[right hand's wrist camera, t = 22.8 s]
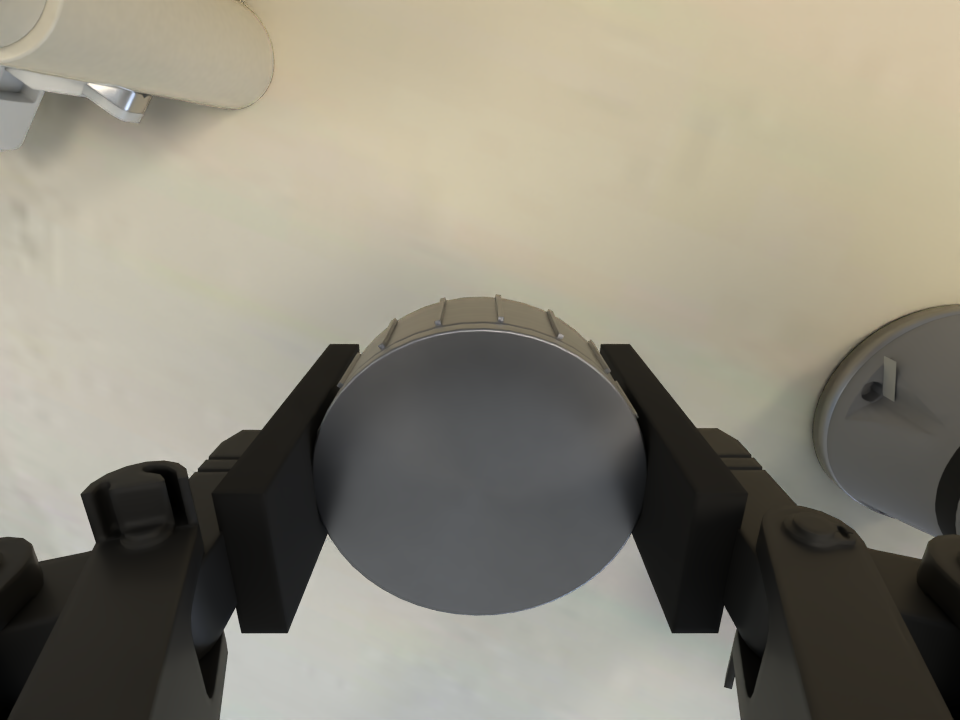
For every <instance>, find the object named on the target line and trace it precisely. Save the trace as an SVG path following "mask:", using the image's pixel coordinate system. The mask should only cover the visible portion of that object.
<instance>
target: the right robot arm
mask: <svg viewBox="0 0 960 720" xmlns="http://www.w3.org/2000/svg"><path fill="white" fill-rule="evenodd" d="M357 353H360V352H359V344H330V345H329V346H328V347H327V348H326V350H325V351H324V352H323V353H322V355H321V356H320V357H319V359H318V360H317V361H316V362H315V364H314V365H313V366H312V367H311V369H310V370H309V371H308V372H307V374H306V375H305V376H304V377H303V379H302V380H301V381H300V382H299V384H298V385H297V386H296V387H295V389H294V390H293V391H292V392H291V394H290V395H289V396H288V398H287V399H286V400H285V401H284V403H283V404H282V405H281V406H280V408H279V409H278V410H277V411H276V413H275V414H274V415H273V416H272V418H271V419H270V420H269V421H268V423H267V424H266V425H265V426H264V428H263V429H262V430H242V431H240V432H239V433H237V434H235V435H233V436H232V437H230V438H228V439H227V440H225V441H223V442H222V443H221V444H220V445H219V446H218V447H217V448H216V449H215V451H214V452H213V453H212V454H211V455H210V456H209V460H206V461H205V462H204V463H203V464H202V465H201V466H200V467H199V468H198V472H195V473H194V474H193V475H192V476H191V477H190V478H189V479H188V474H187V470H186V468H185V467H183V466H182V465H180V464H179V463H175V462H170V461H150V462H143V463H139V464H134V465H130V466H126V467H123V468H121V469H118V470H116V471H113V472H111V473H108V474H106V475H104V476H103V477H101V478H99V479H98V480H96V481H94V482H93V483H91V484H90V485H89V486H88V487H87V488H86V489H85V490H84V491H83V492H82V493H81V498H82V501H83V504H84V507H85V510H86V513H87V516H88V519H89V522H90V526H91V529H92V532H93V535H94V538H95V541H96V544H95V546H94V548H93V550H92V551H88V552H84V553H79V554H75V555H70V556H65V557H60V558H55V559H50V560H45V561H40V562H38V559H37V557H36V554H35V551H34V549H33V546H32V544H31V543H29V542H28V541H27V540H25V539H24V538H15V537H3V538H0V720H219V719H220V711H221V703H222V695H223V687H224V679H225V671H226V664H227V656H228V650H227V643H226V638H225V634H224V628H225V626H226V624H227V623H228V621H229V619H230V617H231V615H232V613H233V611H234V610H235V608H236V610H237V615H238V619H239V624H240V629H241V633H288V631H289V628H290V626H291V623H292V621H293V619H294V616H295V614H296V611H297V609H298V606H299V604H300V601H301V599H302V596H303V594H304V591H305V589H306V586H307V584H308V581H309V579H310V576H311V574H312V571H313V569H314V566H315V564H316V561H317V559H318V556H319V554H320V551H321V549H322V546H323V544H324V541H325V539H326V536H327V534H328V533H327V531H326V529H325V527H324V525H323V523H322V521H321V518H320V515H319V512H318V509H317V504H316V497H315V490H314V482H313V474H312V457H313V450H314V444H315V441H316V437H317V430H318V428H319V427H320V425H321V423H322V421H323V419H324V417H325V414H326V412H327V410H328V408H329V407H330V405H331V403H332V402H333V400H334V398H335V397H336V395H337V393H338V391H339V390H340V388H339V387H337V385H338V383H339V382H340V380H341V379H342V377H343V375H344V374H345V372H346V370H347V369H348V367H349V366H350V364H351V362H352V361H353V359H354V358H355V356H356V354H357ZM600 354H601V356H602V357H603V359H604V361H605V362H606V364H607V365H608V367H609V369H610V370H611V372H610V374H611V376H612V378H613V379H614V381H617V382H618V383H619V385H620V387H621V388H622V390H623V391H624V393H625V395H626V396H627V398H628V400H629V401H630V403H631V405H632V406H633V408H634V409H635V411H636V413H637V415H638V418H637V422H638V424H639V427H640V429H641V432H642V435H643V439H644V443H645V448H646V452H647V464H648V469H647V478H646V486H645V494H644V501H643V507H642V511H641V514H640V516H639V518H638V521H637V523H636V526H635V528H634V530H633V532H632V535H633V537H634V540H635V542H636V545H637V547H638V550H639V552H640V555H641V557H642V560H643V562H644V565H645V567H646V570H647V572H648V575H649V577H650V580H651V582H652V585H653V587H654V590H655V592H656V594H657V597H658V599H659V602H660V604H661V607H662V609H663V612H664V614H665V617H666V619H667V622H668V624H669V627H670V629H671V632H672V633H718V632H719V627H720V622H721V618H722V613H723V608H724V606H725V607H726V609H727V611H728V613H729V615H730V617H731V619H732V620H733V622H734V624H735V626H736V628H737V630H736V634H735V638H734V643H733V647H732V651H731V655H730V660H729V664H728V668H727V673H726V678H725V685H724V687H726V688H729V689H732V686H733V682H734V677H735V678H736V686H737V694H738V702H739V710H740V717H741V720H960V305H948V306H940V307H935V308H930V309H926V310H922V311H919V312H916V313H913V314H910V315H908V316H905V317H902V318H900V319H898V320H896V321H894V322H892V323H890V324H888V325H887V326H885V327H883V328H881V329H880V330H878V331H877V332H875V333H874V334H872V335H871V336H869V337H868V338H867V339H866V340H864V341H863V342H862V343H861V344H859V345H858V346H857V347H856V348H855V349H854V350H853V351H852V352H851V353H850V354H849V355H848V356H847V357H846V358H845V359H844V360H843V361H842V363H841V364H840V365H839V366H838V368H837V369H836V370H835V371H834V373H833V374H832V376H831V378H830V379H829V381H828V382H827V384H826V386H825V388H824V390H823V392H822V394H821V397H820V399H819V402H818V405H817V408H816V412H815V416H814V423H813V441H814V448H815V451H816V455H817V458H818V460H819V462H820V464H821V466H822V468H823V470H824V471H825V472H826V474H827V475H828V476H829V477H830V478H831V479H832V480H833V481H834V482H835V483H836V484H837V485H838V486H839V487H840V488H841V489H842V490H843V491H844V492H845V493H846V494H848V495H849V496H850V497H851V498H853V499H854V500H855V501H857V502H858V503H860V504H862V505H864V506H866V507H867V508H869V509H871V510H873V511H875V512H878V513H880V514H883V515H886V516H889V517H891V518H895V519H898V520H900V521H902V522H904V523H906V524H908V525H910V526H912V527H915V528H917V529H919V530H921V531H923V532H926V533H928V534H930V535H932V536H935V538H933V539H932V540H930V541H929V542H928V545H927V547H926V550H925V553H924V555H923V558H922V559H917V558H912V557H907V556H902V555H898V554H893V553H888V552H883V551H878V550H873V549H869V548H867V547H866V545H865V543H864V541H863V540H862V539H861V538H860V536H859V535H858V534H857V533H856V532H855V530H853V529H852V528H850V527H849V526H848V525H846V524H845V523H843V522H842V521H841V520H839V519H837V518H835V517H832V516H830V515H828V514H826V513H824V512H821V511H818V510H814V509H810V508H807V507H803V506H797V505H796V504H795V503H794V502H793V500H792V499H791V498H790V497H789V496H788V495H787V494H786V493H785V492H784V491H783V489H782V488H781V487H780V486H779V485H778V484H777V483H776V482H775V481H774V480H773V478H772V477H771V476H770V475H769V474H768V473H767V472H766V471H765V470H762V466H761V465H760V464H759V463H758V462H757V461H756V460H755V459H754V458H751V454H750V453H749V452H748V451H747V450H746V449H745V448H744V446H743V445H742V444H741V443H740V442H739V441H738V440H736V439H735V438H733V437H731V436H730V435H728V434H726V433H724V432H723V431H721V430H719V429H718V428H696V427H695V426H694V424H693V423H692V422H691V421H690V419H689V418H688V417H687V416H686V414H685V413H684V412H683V411H682V409H681V408H680V407H679V406H678V404H677V403H676V402H675V400H674V399H673V398H672V397H671V395H670V394H669V393H668V392H667V390H666V389H665V388H664V387H663V385H662V384H661V383H660V382H659V380H658V379H657V378H656V377H655V375H654V374H653V373H652V372H651V370H650V369H649V368H648V366H647V365H646V364H645V363H644V361H643V360H642V359H641V358H640V356H639V355H638V354H637V353H636V351H635V350H634V349H633V348H632V346H631V345H630V344H601V348H600Z"/></svg>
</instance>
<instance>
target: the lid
mask: <svg viewBox="0 0 960 720" xmlns="http://www.w3.org/2000/svg"><path fill="white" fill-rule="evenodd" d="M610 372H611V370H610V369H609V367H608V365H607V364H606V362H605V361H604V359H603V357H602V356H601V354H600V352H599V351H598V349H597V347H596V346H595V344H594V343H593V342H592V340H590V341H588V342H587V341H586V340H585V339H584V338H583V337H582V336H581V335H580V334H579V333H578V332H577V331H576V330H575V329H573V328H572V327H570V326H569V325H568V324H566V323H565V322H563V321H562V320H560V319H559V318H557V317H555V315H554V313H553V311H551V310H549V309H548V311H547V312H545V311H544V310H541V309H539V308H536V307H533V306H530V305H528V304H525V303H521V302H517V301H512V300H508V299H502V298H501V295H496V296H495V298H491V297H466V298H458V299H452V300H446V298H441V299H440V302H439V303H435V304H432V305H429V306H425V307H423V308H421V309H419V310H416V311H414V312H412V313H410V314H408V315H406V316H404V317H403V318H401V319H399V320H398V321H397V319H396V318H394V319H393V320H391V322H390V324H389V326H388V328H386V329H385V330H384V331H383V332H382V333H380V334H379V335H378V336H377V337H376V338H375V339H374V340H373V341H372V342H371V343H370V345H369V346H368V347H367V348H366V349H365V350H364V351H363V353H362V354H360V353H357V354H356V356H355V358H354V359H353V361H352V362H351V364H350V366H349V367H348V369H347V370H346V372H345V374H344V375H343V377H342V379H341V380H340V382H339V383H338V385H337V387H339V388H340V390H339V391H338V393H337V395H336V397H335V398H334V400H333V402H332V403H331V405H330V407H329V408H328V410H327V412H326V414H325V417H324V419H323V421H322V423H321V425H320V427H319V428H318V430H317V437H316V441H315V444H314V450H313V457H312V474H313V482H314V490H315V497H316V504H317V509H318V512H319V515H320V518H321V521H322V523H323V525H324V527H325V529H326V531H327V533H328V535H329V537H330V538H331V540H332V541H333V543H334V544H335V545H336V547H337V548H338V550H339V551H340V553H341V554H342V555H343V556H344V557H345V558H346V559H347V560H348V561H349V563H350V564H351V565H352V566H353V567H354V568H355V569H357V570H358V571H359V572H360V573H361V574H362V575H363V576H365V577H366V578H367V579H368V580H370V581H371V582H373V583H374V584H376V585H377V586H379V587H380V588H382V589H383V590H385V591H387V592H389V593H391V594H393V595H395V596H396V597H398V598H400V599H403V600H405V601H408V602H410V603H413V604H416V605H418V606H422V607H425V608H429V609H432V610H436V611H441V612H447V613H453V614H463V615H498V614H505V613H513V612H518V611H522V610H527V609H531V608H535V607H538V606H540V605H543V604H546V603H549V602H552V601H554V600H556V599H558V598H561V597H563V596H565V595H567V594H569V593H571V592H572V591H574V590H576V589H577V588H579V587H581V586H582V585H584V584H585V583H587V582H588V581H589V580H591V579H592V578H593V577H594V576H596V575H597V574H598V573H600V572H601V571H602V570H603V569H604V568H605V567H606V566H607V565H608V564H609V563H610V562H611V561H612V560H613V559H614V558H615V556H616V555H617V554H618V553H619V551H620V550H621V549H622V547H623V546H624V545H625V544H626V542H627V540H628V538H629V537H630V535H631V533H632V532H633V530H634V528H635V526H636V523H637V521H638V518H639V516H640V514H641V511H642V507H643V501H644V494H645V486H646V478H647V469H648V464H647V452H646V448H645V443H644V439H643V435H642V432H641V429H640V427H639V424H638V422H637V418H638V415H637V413H636V411H635V409H634V408H633V406H632V405H631V403H630V401H629V400H628V398H627V396H626V395H625V393H624V391H623V390H622V388H621V387H620V385H619V383H618V382H617V381H614V379H613V378H612V376H611V374H610Z"/></svg>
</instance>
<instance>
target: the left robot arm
mask: <svg viewBox="0 0 960 720" xmlns="http://www.w3.org/2000/svg"><path fill="white" fill-rule="evenodd" d="M45 91H47V92H53V93H60V94H66V95H73V96H79V97H86V98H88V99H89V100H91V101H92V102H94V103H95V104H96V105H98V106H99V107H101V108H102V109H104V110H105V111H106V112H108V113H109V114H111V115H112V116H113V117H115V118H118V119H120V120H122V121H125V122H133V123H139V122H140V120H141V118H142V116H143V114H144V112H145V110H146V108H147V106H148V104H149V102H150V100H151V98H152V95H149V94H143V93H138V92H133V91H128V90H122V89H117V88H112V87H107V86H101V85H96V84H91V83H86V82H80V81H75V80H70V79H65V78H59V77H54V76H49V75H44V74H38V73H33V72H28V71H23V70H17V69H12V68H7V67H2V66H0V152H2V151H11V150H16V149H18V148H19V147H21V145H22V144H23V142H24V140H25V137H26V135H27V132H28V130H29V128H30V125H31V123H32V121H33V118H34V116H35V114H36V112H37V109H38V107H39V105H40V102H41V100H42V98H43V95H44V93H45Z"/></svg>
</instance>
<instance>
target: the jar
mask: <svg viewBox="0 0 960 720" xmlns="http://www.w3.org/2000/svg"><path fill="white" fill-rule="evenodd" d="M0 66H2V67H7V68H12V69H17V70H23V71H28V72H33V73H38V74H44V75H49V76H54V77H59V78H65V79H70V80H75V81H80V82H86V83H91V84H96V85H101V86H107V87H112V88H117V89H122V90H128V91H133V92H138V93H143V94H149V95H154V96H159V97H164V98H170V99H175V100H180V101H185V102H191V103H196V104H201V105H206V106H212V107H217V108H222V109H230V110H234V109H241V108H245V107H247V106H250V105H251V104H253V103H255V102H256V101H257V100H258V99H260V98H261V96H262V95H263V94H264V93H265V91H266V90H267V88H268V86H269V84H270V82H271V79H272V75H273V69H274V55H273V49H272V44H271V41H270V38H269V36H268V33H267V31H266V29H265V27H264V26H263V24H262V23H261V21H260V20H259V18H258V17H257V16H256V15H255V14H254V13H253V12H252V11H251V10H250V9H249V8H248V7H247V6H245V5H244V4H242V3H241V2H239V1H238V0H0Z"/></svg>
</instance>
